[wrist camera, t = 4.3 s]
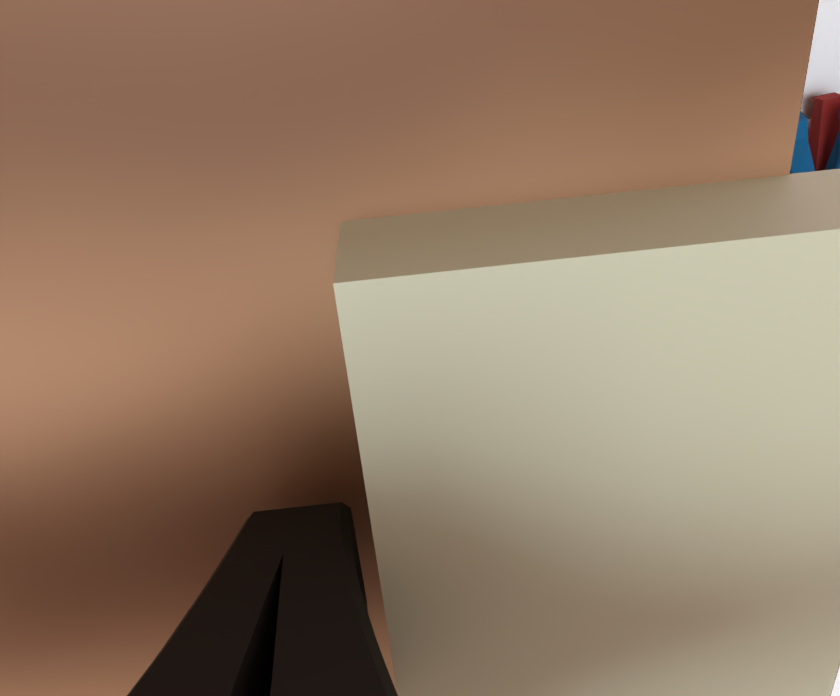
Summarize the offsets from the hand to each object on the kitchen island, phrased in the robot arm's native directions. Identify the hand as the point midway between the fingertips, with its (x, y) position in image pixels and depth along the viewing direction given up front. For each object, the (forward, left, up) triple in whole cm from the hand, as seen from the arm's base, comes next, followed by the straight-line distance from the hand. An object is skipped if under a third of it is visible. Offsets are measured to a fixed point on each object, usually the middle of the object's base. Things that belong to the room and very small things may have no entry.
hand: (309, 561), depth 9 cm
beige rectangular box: (0, -4, -1) cm, 4 cm away
